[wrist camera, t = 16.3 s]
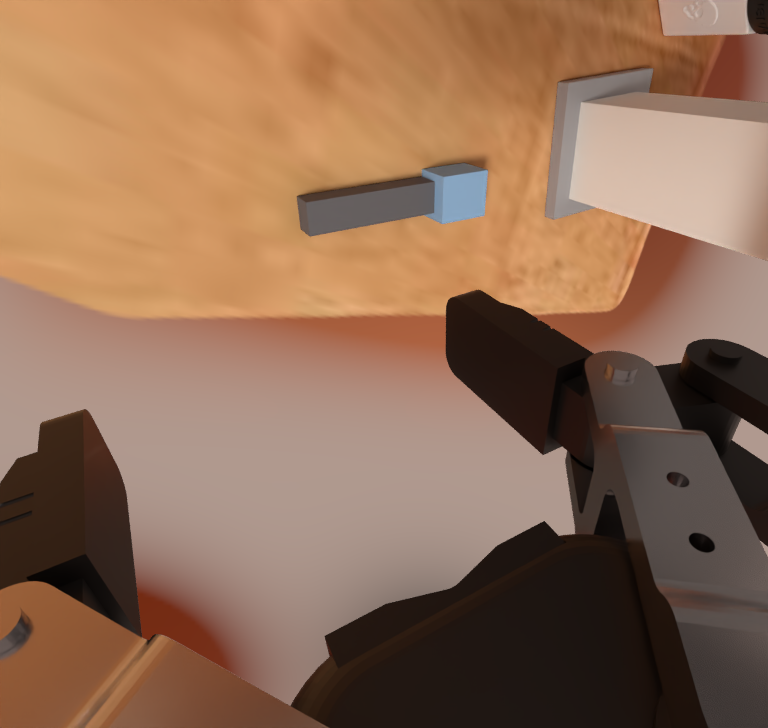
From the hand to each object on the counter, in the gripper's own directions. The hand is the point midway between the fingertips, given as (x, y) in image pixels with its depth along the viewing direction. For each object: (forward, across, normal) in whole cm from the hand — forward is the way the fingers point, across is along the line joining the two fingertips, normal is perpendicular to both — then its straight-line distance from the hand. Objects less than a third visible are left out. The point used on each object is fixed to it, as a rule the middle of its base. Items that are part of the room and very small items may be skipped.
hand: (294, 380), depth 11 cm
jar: (+36, -57, -6) cm, 68 cm away
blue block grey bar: (+36, -20, +9) cm, 42 cm away
